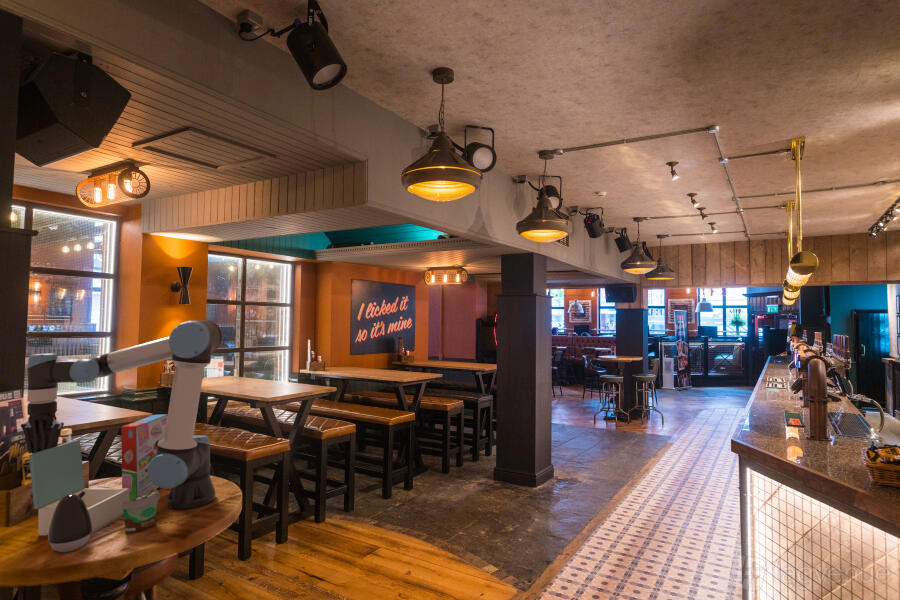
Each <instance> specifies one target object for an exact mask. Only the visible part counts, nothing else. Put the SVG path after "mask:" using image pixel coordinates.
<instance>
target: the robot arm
mask: <svg viewBox="0 0 900 600" xmlns="http://www.w3.org/2000/svg"><path fill="white" fill-rule="evenodd" d="M223 341H224V332H223V330H222V327H220V325H219V324H217V322H214V321H211V320H187V321H184V322H182V323H179V324H177V325H176V326H175V327H174V328H173V329H172V331H171V332H170V333H169V336H167V337H163V338H159V339H155V340H151V341H148V342H144V343H141V344H137V345H133V346H130V347H125V348H122V349H119V350H115V351H112V352H111V351H110V352H107V353H102V354H100V355H96V356H89V357H82V358H75V359H74V358H73V359H71V358H70V359H58V355H57V353H55V352H54V353H48V352H47V353H46V352H45V353H35V354H31V355H29V356H28V359H27V368H26V370H27V401H26V402H29V403H28V404H27V405H26V406H27V412H26V413H27V415H28V416H29V417H28V418H27V421H26V422H24V423H21V424H20V428H21V429H22V431H23V434H24V435H23V436H24V439H25V442H26V443H25V444H26V448H27V452H28V453H29V454H34V453H37V452H40V451H43V450H46V449H49V448H52V447H55V446H58V443H59V439H60V435H61V430H62V428H63V427H64V425H65V423H64V422H63V421H61V422H60V421H58V420H57V419H58V418H57V416H56V414H57V411H58V401H57V399H58V384H59V383H61V384H62V383H67V384H68V383H78V384H84V383H92V382H93V381H95V379H98V378H106V377H109V376H110V375H114V374H117V373H120V372H125V371H127V370H132V369H135V368H140V367H143V366H147V365H151V364H155V363H158V362H162V361H165V360H168V359H171V361H172V363H174V365H175V368H174V375H173V379H172V385H171V386H172V387H171V393H170V398H169V405H168V411H167V422H166V428H165V434H164V438H163V439H162V440H161V441H159V442H158V445H157V451H156V456H155V457H154V458H153V459H152V460H151V462H150V463H149V465H148V470H147V472H148V477H149V479H150V480H151V481H152V482H153V484H154V485H156V486H158V487H160V488H159V489H168V490H169V489H170V491H169V494H168V497H167V507H168V506H169V507H168V508H170V507H171V508H170V509H173V508H174V509H173V510H189V509H193V508H199V507H203V506H205V505H209V504H210V503H212V502H214V500H216V489H215V485H214V484H213V482H212V478H211V443H210V437H209V436H208V435H205V434H201V435H200V434H199V435H198V434H197V435H196V434H195V427H196V424H197V423H196V422H197V417H198V416H197V415H198V409H199V403H200V397H201V393H202V391H201V390H202V385H203V380H204V379H203V378H204V373H205V368H206V367H207V366H208V365H210V364H211V361H212V355H213V353H214V352H215V351H216V350H218V349H219V348H220V347H221V346H222V344H223Z"/></svg>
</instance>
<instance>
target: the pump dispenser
mask: <svg viewBox="0 0 900 600" xmlns="http://www.w3.org/2000/svg"><path fill="white" fill-rule="evenodd" d="M84 495H85V492H81V493H80V494H79V495H75V494H73V493H72V494H69V495H67V496H65V497H63V498H60V499H61V500H60V499H59V500H60V501H59V503H58V505H57V506H56V508H55V511H54V513H53V516H52V519H51V523H50V527H49V532H48V536H47V542H48V543H49V546H50V547H51V549H53V550H54V552H55V551H56V552H57V553H69V552H73V551H76V550H78V549H80V548H82V547H83V546H84V545H85V544H86V543H88V541H89V539H90V536H91V535H92V534H91V532H92V523H91V518H90V514H89V511H88V509H87V506H86V504H85V502H84V501H83V499H82V497H83V496H84ZM90 534H91V535H90Z"/></svg>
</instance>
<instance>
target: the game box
mask: <svg viewBox="0 0 900 600" xmlns="http://www.w3.org/2000/svg"><path fill="white" fill-rule="evenodd" d="M167 416H168V413H167V414H166V413H165V414H164V413H163V414H153V415H150V416H147V417H145V418H141V419H139V420H136V421H134V422H130V423H128V424H125V425H122V426H121V429H120V430H121V431H120V432H121V488H129V496H130V501H132V500H134V499H135V498H137V497H139V496H142V495H145V494H148V493H150V492H151V489H155V490H156V489H157V488H159V487H158V486H156V485H154V484H153V482H152V481H151V480H150V479H149V477H148V472H147V470H148V465H149V463H150V462H151V460H152V459H153V458H154V457H155V456H156V451H157V445H158V442H159V441H161V440H162V439H163V438H164V434H165V428H166V422H167ZM159 489H160V488H159ZM157 490H158V489H157Z"/></svg>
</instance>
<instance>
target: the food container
mask: <svg viewBox="0 0 900 600" xmlns="http://www.w3.org/2000/svg"><path fill="white" fill-rule="evenodd" d="M158 490H159V489H157V490H155V489H151V492H150V493H148V494H145V495H142V496H139V497H137V498H135V499H134V500H132V501H129V502H123V504H122V508H121V509H123V512H124V516H123V519H124V520H123V521H124V532H125V534H128V535H129V534H138V532H139V533H143V532H146V531H148V529H149V530H151V529H152V527H153V528H154V527H155V526H156V525H157V524H156V522H157V513H158V512H157V511H158V501H160V499H161V496H160V492H159V491H158ZM155 524H156V525H155ZM150 528H151V529H150ZM145 530H146V531H145ZM142 531H143V532H142Z"/></svg>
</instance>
